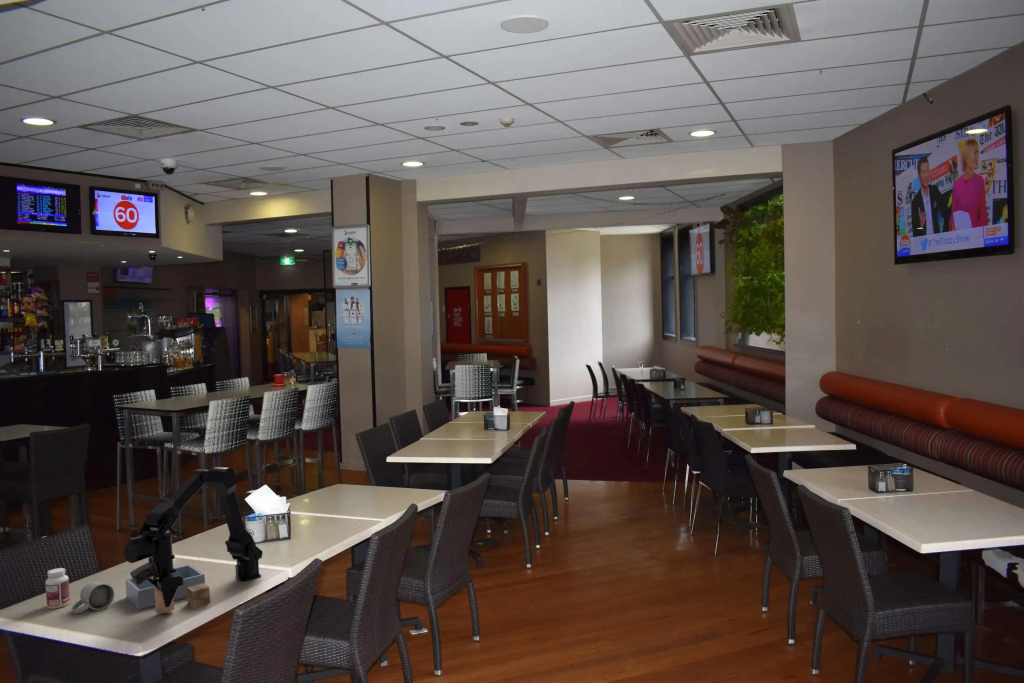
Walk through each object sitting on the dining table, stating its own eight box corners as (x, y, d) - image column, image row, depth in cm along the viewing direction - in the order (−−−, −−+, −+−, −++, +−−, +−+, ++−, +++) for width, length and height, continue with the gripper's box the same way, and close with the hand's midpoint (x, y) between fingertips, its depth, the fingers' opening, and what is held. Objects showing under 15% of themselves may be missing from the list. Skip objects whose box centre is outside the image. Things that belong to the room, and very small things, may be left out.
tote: (190, 580, 246) (189, 564, 245) (205, 591, 235) (204, 574, 234) (126, 597, 233) (125, 579, 233) (138, 609, 222) (137, 591, 222)
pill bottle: (66, 600, 232) (64, 565, 232) (73, 604, 228) (70, 569, 228) (44, 606, 228) (42, 571, 228) (50, 610, 224) (48, 575, 223)
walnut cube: (204, 599, 228) (203, 583, 228) (210, 603, 225) (209, 587, 225) (187, 603, 225) (187, 587, 225) (193, 607, 221) (192, 591, 221)
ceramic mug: (104, 600, 231) (102, 576, 231) (115, 605, 226) (113, 580, 226) (67, 611, 223) (65, 586, 223) (78, 617, 218) (76, 592, 217)
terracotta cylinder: (171, 605, 221) (170, 582, 221) (176, 609, 217) (175, 586, 217) (153, 610, 218) (152, 586, 218) (158, 614, 214) (157, 590, 214)
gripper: (123, 552, 219) (126, 604, 219) (141, 566, 205) (144, 621, 205) (163, 543, 226) (166, 593, 227) (182, 556, 212) (185, 609, 212)
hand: (164, 604), depth 217 cm, fingers closed on terracotta cylinder, 5 cm apart
